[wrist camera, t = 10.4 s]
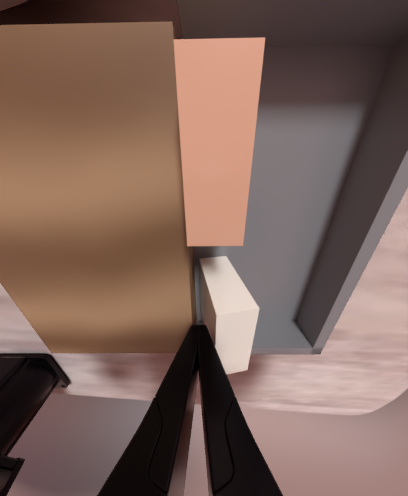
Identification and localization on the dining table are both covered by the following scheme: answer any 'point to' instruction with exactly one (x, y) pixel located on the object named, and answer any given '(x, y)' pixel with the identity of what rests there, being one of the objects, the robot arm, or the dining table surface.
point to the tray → (314, 155)
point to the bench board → (94, 187)
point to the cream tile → (227, 312)
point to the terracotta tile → (217, 133)
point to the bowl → (10, 3)
